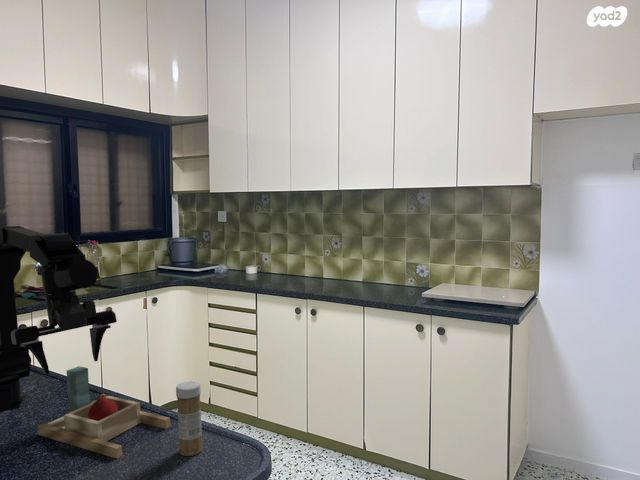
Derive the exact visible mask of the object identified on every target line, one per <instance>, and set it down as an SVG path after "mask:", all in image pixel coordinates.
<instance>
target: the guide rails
mask: <svg viewBox="0 0 640 480" xmlns="http://www.w3.org/2000/svg"><path fill="white" fill-rule="evenodd" d="M95 401H97V400H96V399H94V400H92V401H90V403H93V402H95ZM140 413H141V423H140V424H145V425H148V426H154V427H157V428H160V429H164V430H166V429H168V428H170V427H171V418H170V417H167V416H164V415H159V414H155V413H150V412H147V411H144V410H143V411H142V410H140ZM47 424H48V423H43V422H42V423H41V424H39V425H37V435H38V436H41V437H44V438H48V439H50V440H54V441H58V442H60V443H65V444H68V445H71V446H73V447H77V448H81V449H84V450H88V451H90V452H94V453H97V454H100V455H104V456H106V457H110V458H114V459H116V460H118V459H120V458H121V457H123V445H121V444H117V443H114V442H109V441H104V440H100V439H97V438H93V437H89V436H86V435H82V434H79V433H75V432H72V431H68V430H65V429H61V428H58V427H54V426H51V425H47Z"/></svg>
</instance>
